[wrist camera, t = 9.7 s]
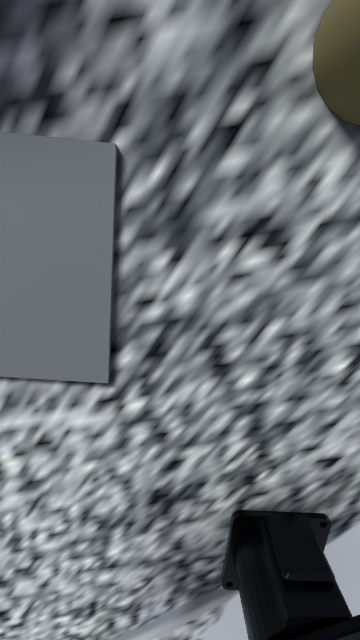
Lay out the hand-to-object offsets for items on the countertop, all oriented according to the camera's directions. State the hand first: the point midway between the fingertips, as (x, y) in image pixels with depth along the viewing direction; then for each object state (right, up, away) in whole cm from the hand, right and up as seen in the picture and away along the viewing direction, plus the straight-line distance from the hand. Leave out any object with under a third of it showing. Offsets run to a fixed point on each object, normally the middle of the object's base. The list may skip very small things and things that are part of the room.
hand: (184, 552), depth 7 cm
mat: (-8, +8, +10) cm, 15 cm away
